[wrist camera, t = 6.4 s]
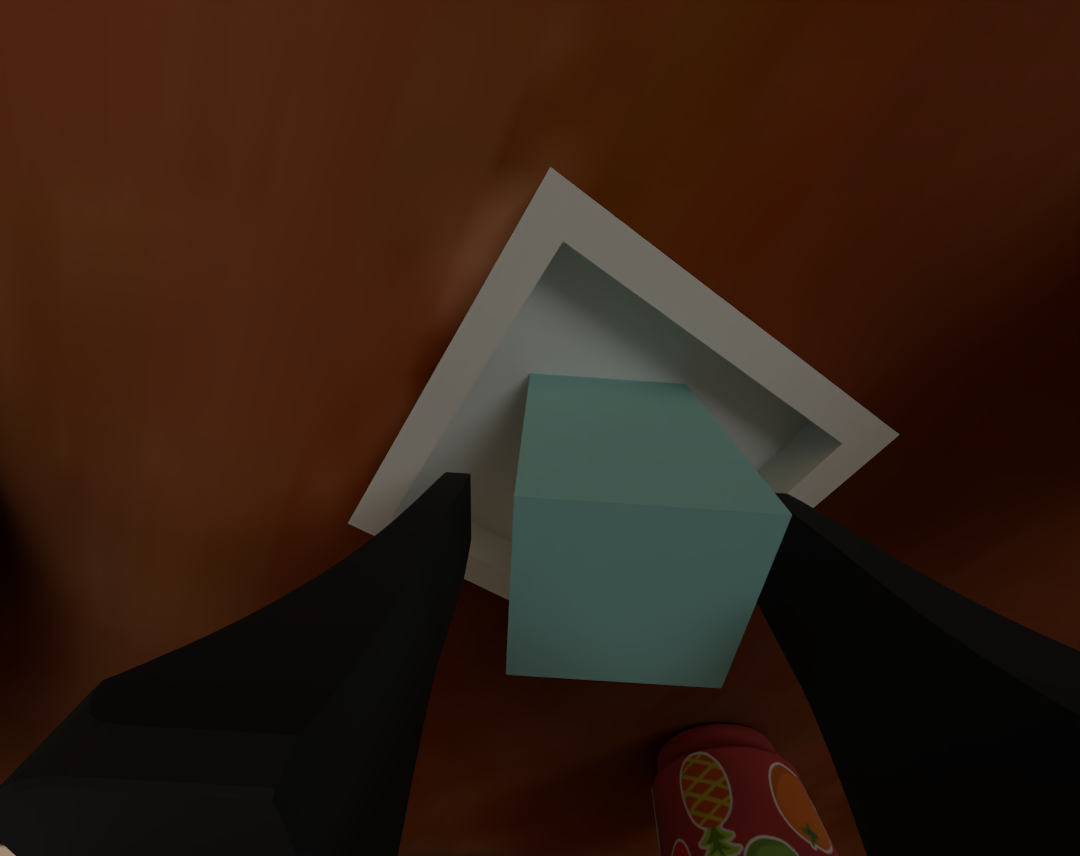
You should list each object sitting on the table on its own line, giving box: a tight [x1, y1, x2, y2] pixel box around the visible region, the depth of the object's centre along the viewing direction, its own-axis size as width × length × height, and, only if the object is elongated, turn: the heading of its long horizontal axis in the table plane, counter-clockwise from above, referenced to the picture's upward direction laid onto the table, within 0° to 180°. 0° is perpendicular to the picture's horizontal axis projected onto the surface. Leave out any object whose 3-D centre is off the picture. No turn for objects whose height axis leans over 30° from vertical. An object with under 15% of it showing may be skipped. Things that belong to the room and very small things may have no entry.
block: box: [506, 373, 792, 688], centre depth 11 cm, size 4×4×6 cm
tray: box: [348, 167, 899, 600], centre depth 13 cm, size 11×11×2 cm
